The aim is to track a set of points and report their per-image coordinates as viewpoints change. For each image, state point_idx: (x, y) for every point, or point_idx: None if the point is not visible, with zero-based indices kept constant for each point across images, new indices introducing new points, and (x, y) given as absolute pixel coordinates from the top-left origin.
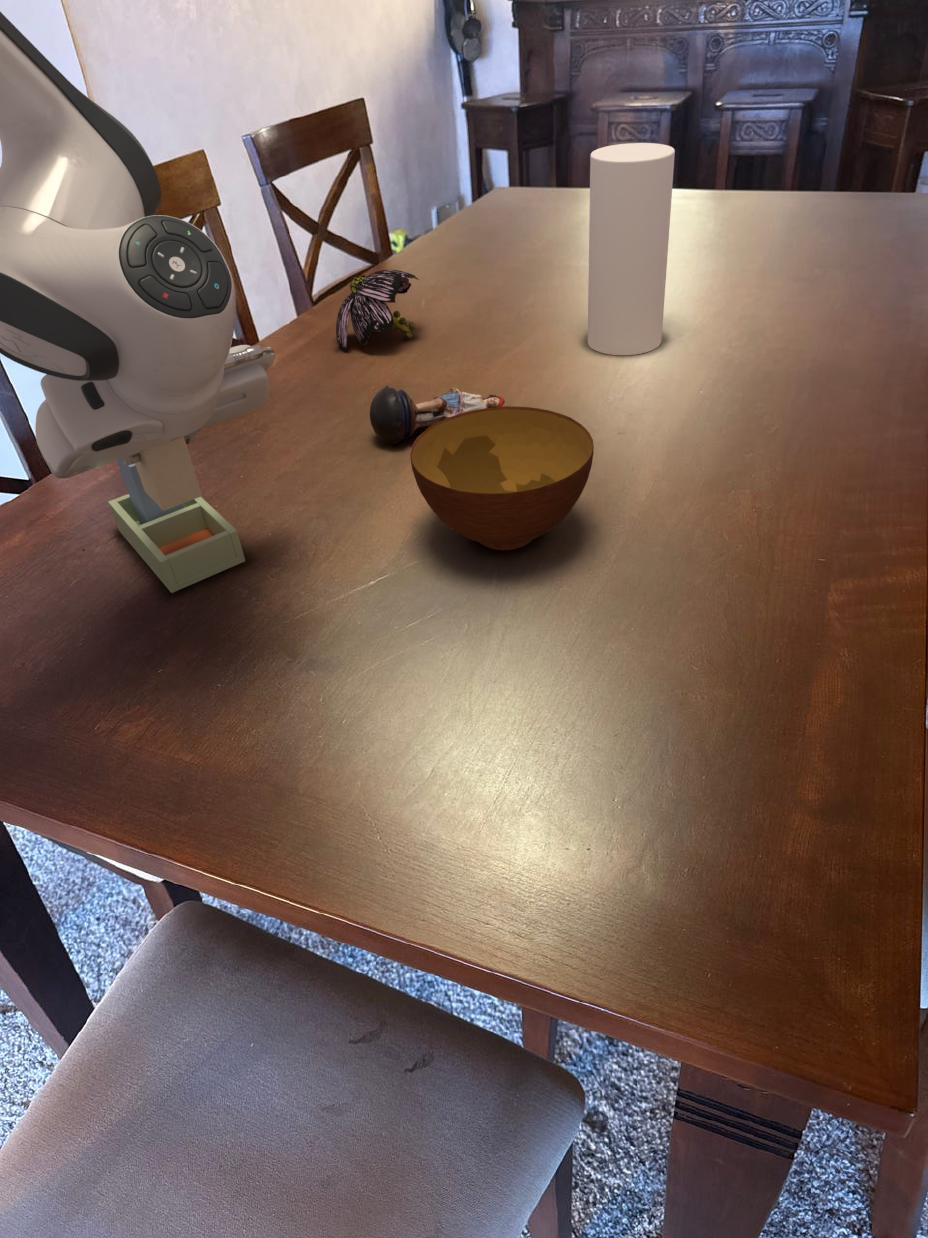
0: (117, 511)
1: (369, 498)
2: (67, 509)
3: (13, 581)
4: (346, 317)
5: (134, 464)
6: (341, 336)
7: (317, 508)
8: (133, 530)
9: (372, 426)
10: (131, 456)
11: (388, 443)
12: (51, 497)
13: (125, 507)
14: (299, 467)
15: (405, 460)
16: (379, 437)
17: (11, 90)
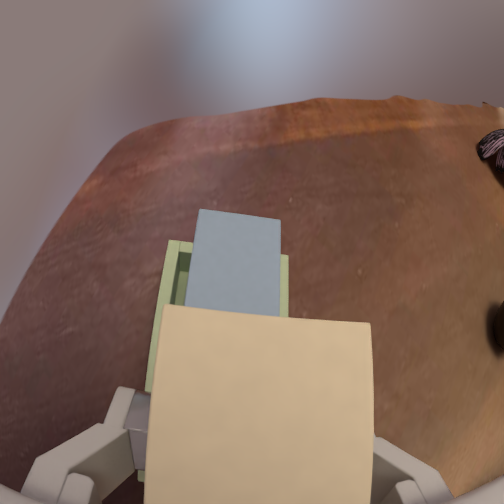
0: (162, 279)
1: (447, 435)
2: (158, 172)
3: (33, 263)
4: (501, 143)
5: (198, 305)
6: (487, 149)
7: (400, 419)
8: (149, 356)
9: (501, 317)
10: (128, 474)
11: (496, 339)
12: (162, 141)
13: (187, 259)
14: (419, 307)
15: (494, 379)
16: (496, 330)
17: None
